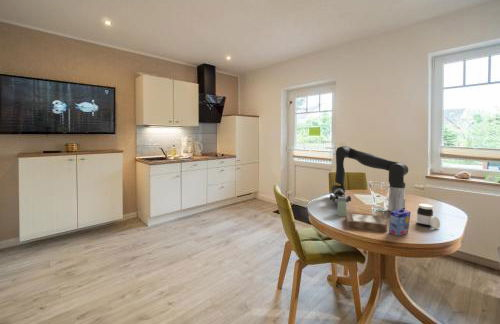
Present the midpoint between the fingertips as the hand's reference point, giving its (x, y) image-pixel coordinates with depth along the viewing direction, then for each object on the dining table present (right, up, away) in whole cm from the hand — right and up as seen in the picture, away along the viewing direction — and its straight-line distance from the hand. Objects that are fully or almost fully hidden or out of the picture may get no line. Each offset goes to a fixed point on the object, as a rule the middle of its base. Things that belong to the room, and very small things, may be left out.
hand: (340, 200), depth 175 cm
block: (-3, -8, -10) cm, 13 cm away
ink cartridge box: (+18, -12, -39) cm, 44 cm away
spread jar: (+40, -10, -29) cm, 51 cm away
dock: (+4, -10, -27) cm, 30 cm away
